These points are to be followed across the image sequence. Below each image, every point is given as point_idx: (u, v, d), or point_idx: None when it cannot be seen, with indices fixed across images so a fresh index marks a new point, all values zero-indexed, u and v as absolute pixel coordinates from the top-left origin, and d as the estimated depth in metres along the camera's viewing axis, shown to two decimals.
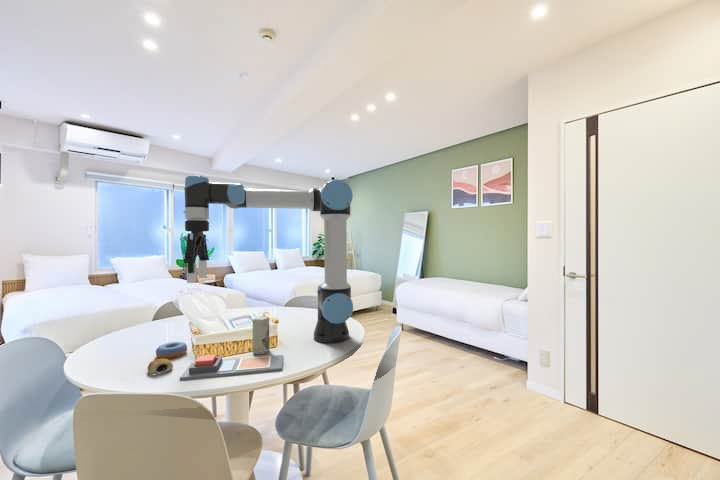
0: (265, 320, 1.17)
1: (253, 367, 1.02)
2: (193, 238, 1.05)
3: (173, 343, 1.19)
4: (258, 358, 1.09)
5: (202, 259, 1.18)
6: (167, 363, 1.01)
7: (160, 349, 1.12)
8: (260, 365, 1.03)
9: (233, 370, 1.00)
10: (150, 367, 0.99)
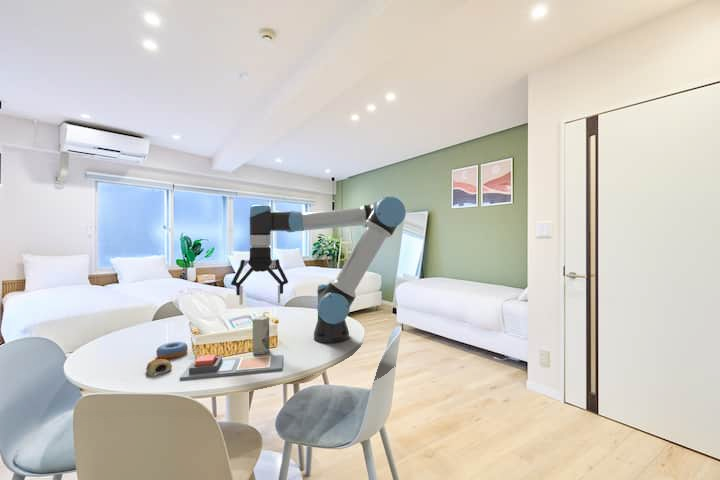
0: (265, 320, 1.17)
1: (253, 367, 1.02)
2: None
3: (174, 343, 1.19)
4: (258, 358, 1.09)
5: None
6: (166, 363, 1.01)
7: (161, 349, 1.12)
8: (260, 365, 1.03)
9: (233, 370, 1.00)
10: (149, 367, 0.99)
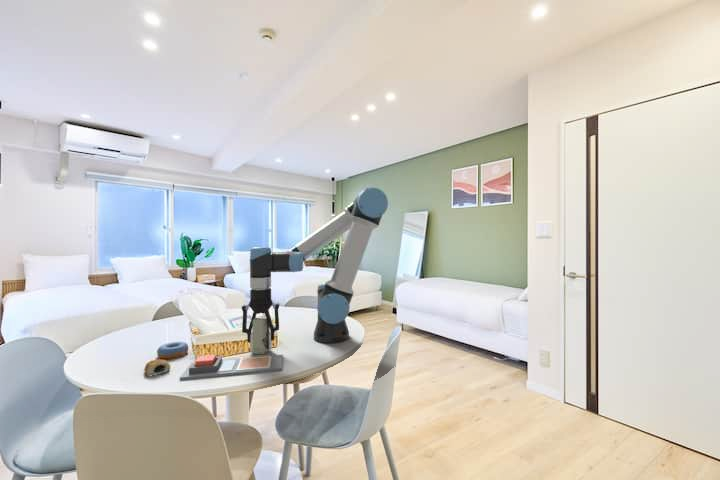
0: (265, 320, 1.17)
1: (253, 367, 1.02)
2: None
3: (174, 343, 1.19)
4: (258, 358, 1.09)
5: None
6: (165, 364, 1.00)
7: (161, 349, 1.12)
8: (260, 365, 1.03)
9: (233, 370, 1.00)
10: (147, 368, 0.98)
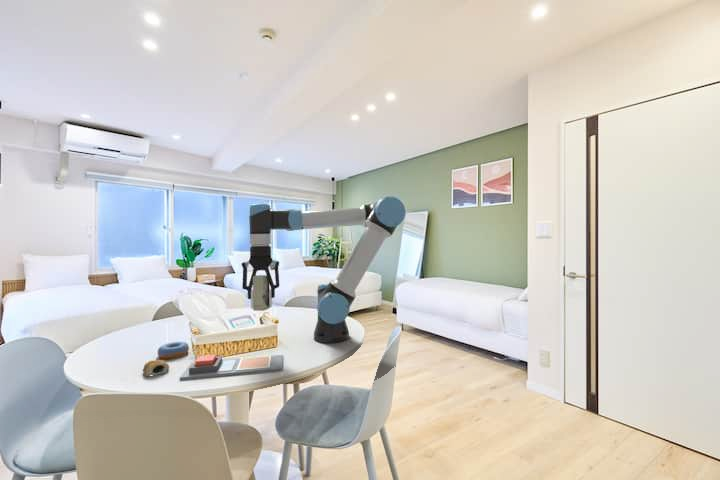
0: (265, 277, 1.17)
1: (253, 367, 1.02)
2: None
3: (175, 343, 1.19)
4: (258, 358, 1.09)
5: (271, 288, 1.19)
6: (163, 364, 1.00)
7: (162, 349, 1.12)
8: (260, 365, 1.03)
9: (233, 370, 1.00)
10: (146, 368, 0.98)
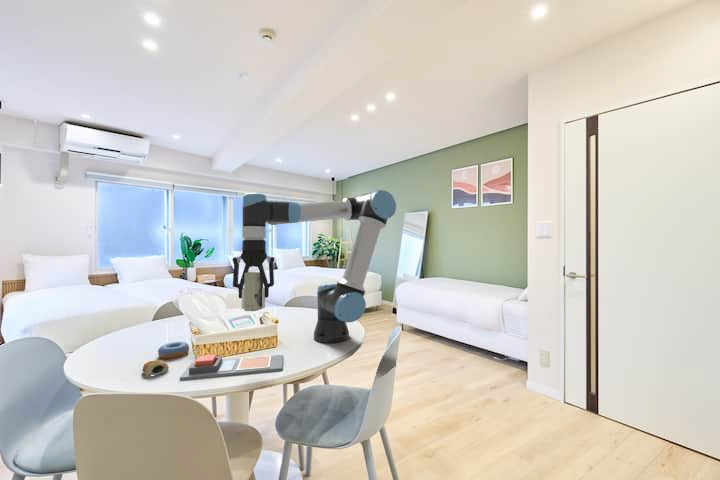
0: (258, 274, 1.06)
1: (253, 367, 1.02)
2: None
3: (175, 343, 1.19)
4: (258, 358, 1.09)
5: None
6: (163, 364, 1.00)
7: (162, 349, 1.13)
8: (260, 365, 1.03)
9: (233, 370, 1.00)
10: (145, 369, 0.98)
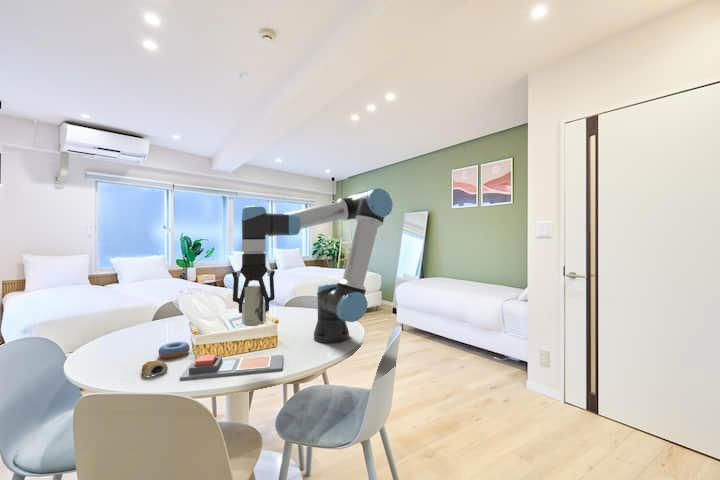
0: (259, 288, 1.04)
1: (253, 367, 1.02)
2: None
3: (176, 343, 1.19)
4: (258, 358, 1.09)
5: (265, 300, 1.06)
6: (162, 365, 1.00)
7: (163, 349, 1.13)
8: (260, 365, 1.03)
9: (233, 370, 1.00)
10: (145, 369, 0.98)
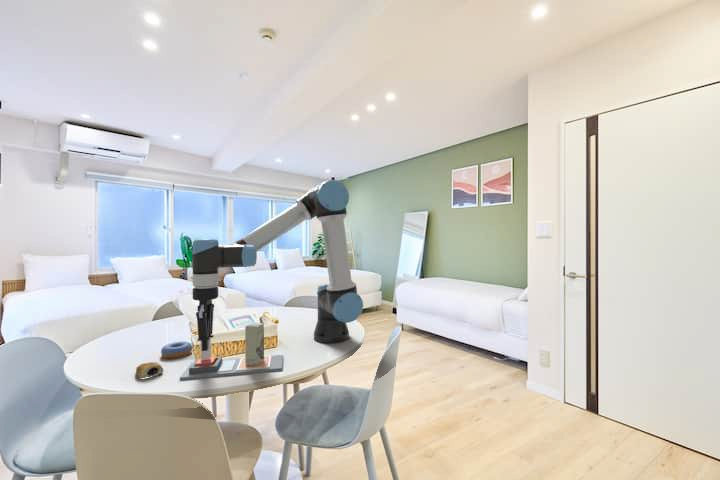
0: (259, 327, 1.05)
1: (253, 367, 1.02)
2: (203, 317, 0.97)
3: (178, 343, 1.19)
4: None
5: None
6: (158, 366, 0.99)
7: (165, 349, 1.13)
8: (260, 365, 1.03)
9: (233, 370, 1.00)
10: (140, 371, 0.96)
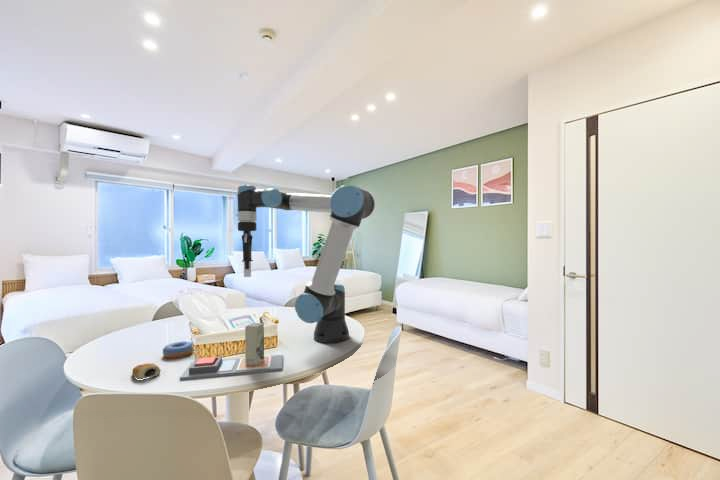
0: (259, 327, 1.05)
1: (253, 367, 1.02)
2: (247, 242, 1.30)
3: (180, 343, 1.19)
4: None
5: None
6: (155, 367, 0.98)
7: (167, 348, 1.13)
8: (260, 365, 1.03)
9: (233, 370, 1.00)
10: (137, 373, 0.95)
